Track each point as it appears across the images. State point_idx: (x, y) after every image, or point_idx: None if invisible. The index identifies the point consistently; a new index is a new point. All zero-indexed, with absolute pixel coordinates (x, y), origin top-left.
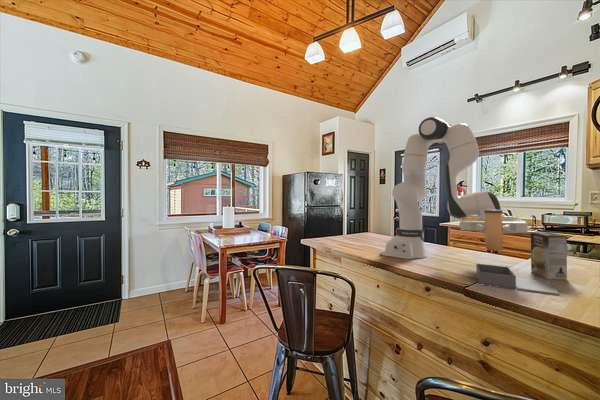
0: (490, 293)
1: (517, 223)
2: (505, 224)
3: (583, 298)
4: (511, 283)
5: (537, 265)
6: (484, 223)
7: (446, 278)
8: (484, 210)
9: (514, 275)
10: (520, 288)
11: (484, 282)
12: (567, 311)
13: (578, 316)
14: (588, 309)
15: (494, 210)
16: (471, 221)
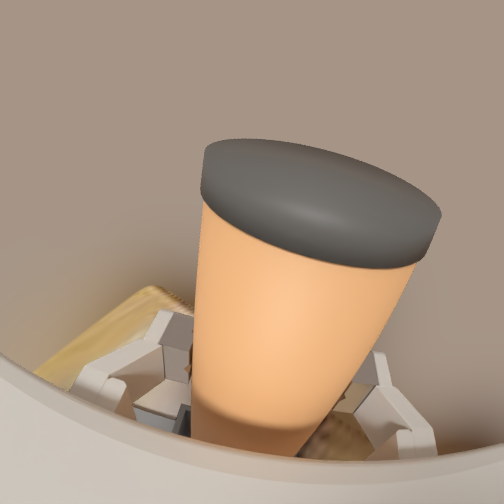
0: None
1: (3, 356)
2: (118, 393)
3: (50, 376)
4: None
5: None
6: (358, 464)
7: None
8: (422, 195)
9: (182, 410)
10: (170, 419)
11: None
12: (147, 318)
13: (145, 304)
14: (98, 328)
15: (314, 153)
16: (489, 457)
